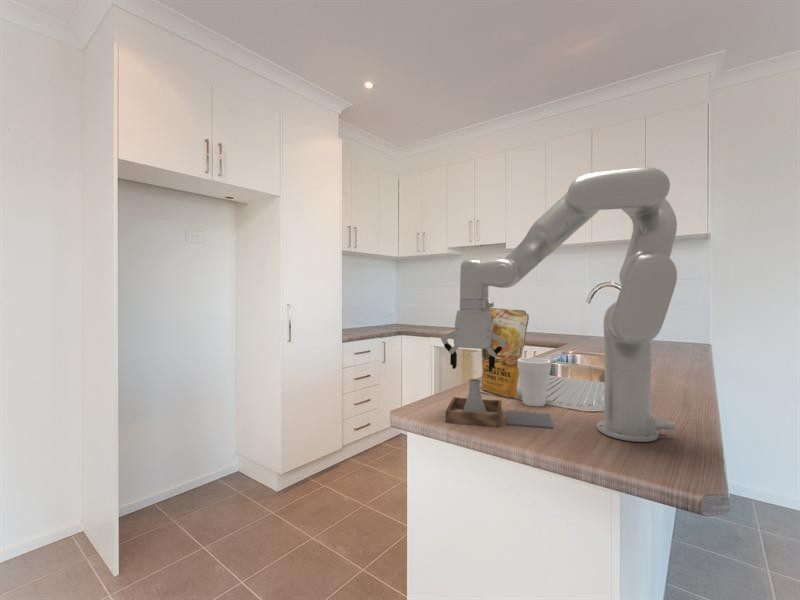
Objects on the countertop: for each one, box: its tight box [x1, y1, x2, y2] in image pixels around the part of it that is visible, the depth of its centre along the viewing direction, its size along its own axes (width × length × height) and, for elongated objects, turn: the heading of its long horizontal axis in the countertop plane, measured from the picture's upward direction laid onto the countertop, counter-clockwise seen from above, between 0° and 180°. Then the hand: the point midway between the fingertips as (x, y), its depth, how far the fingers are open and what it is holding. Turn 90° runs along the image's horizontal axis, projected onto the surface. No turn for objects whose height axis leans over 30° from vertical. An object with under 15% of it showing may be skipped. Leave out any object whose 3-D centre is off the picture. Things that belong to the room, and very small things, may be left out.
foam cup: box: [518, 357, 552, 407], centre depth 118 cm, size 10×9×13 cm
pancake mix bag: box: [480, 307, 530, 399], centre depth 130 cm, size 7×19×28 cm, turn 31°
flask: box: [462, 378, 488, 413], centre depth 106 cm, size 7×7×10 cm
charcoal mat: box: [506, 410, 554, 429], centre depth 103 cm, size 11×11×1 cm
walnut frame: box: [445, 396, 502, 428], centre depth 106 cm, size 14×14×3 cm
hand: (472, 369), depth 106 cm, fingers open, 9 cm apart
